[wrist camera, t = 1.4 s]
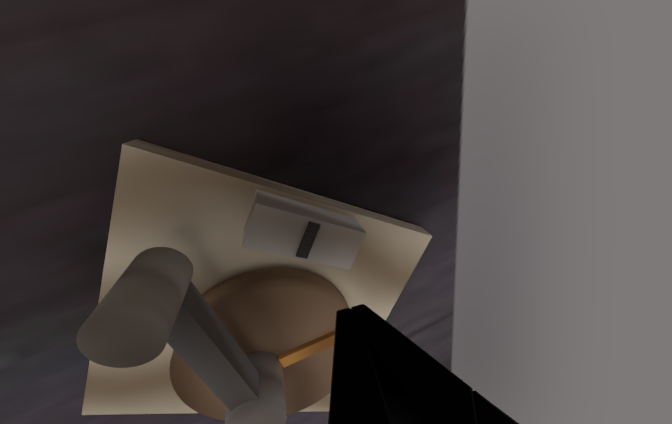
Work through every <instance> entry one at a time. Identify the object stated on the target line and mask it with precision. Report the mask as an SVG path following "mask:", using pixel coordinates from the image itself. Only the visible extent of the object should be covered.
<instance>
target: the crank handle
mask: <svg viewBox="0 0 672 424" xmlns="http://www.w3.org/2000/svg"><path fill="white" fill-rule="evenodd" d="M192 276H193V265H192V263H191V261H190V260H189V258H188V257H187V256H186V255H184V254H183V253H182V252H180V251H178V250H176V249H173V248H168V247H153V248H149V249H146V250H144V251H142V252H141V253H139V254H138V255H137V256H136V257H135V258H134V260H133V261H132V262H131V263H130V265H129V266H128V267H127V269H126V270H125V271H124V272H123V274H122V275H121V276H120V278H119V279H118V280H117V281H116V283H115V284H114V285H113V287H112V288H111V289H110V290H109V292H108V293H107V294H106V295H105V297H104V298H103V299H102V301H101V302H100V303H99V304H98V306H97V307H96V308H95V310H94V311H93V312H92V313H91V315H90V316H89V317H88V319H87V320H86V321H85V322H84V324H83V325H82V326H81V328H80V329H79V331H78V333H77V336H76V343H77V347H78V349H79V351H80V352H81V353H82V354H83V355H84V356H85V357H86V358H87V359H89V360H91V361H92V362H94V363H97V364H99V365H103V366H107V367H113V368H129V367H135V366H140V365H143V364H146V363H148V362H150V361H152V360H153V359H155V358H156V357H158V356H159V355H160V354H161V353H162V351H163V350H164V348H165V346H166V344H167V343H168V344H169V345H170V346H171V347H172V349H173V354H172V357H171V360H170V369H169V372H170V380H171V383H172V386H173V389H174V390H175V392H176V394H177V395H178V397H179V398H180V399H181V400H182V401H183V402H184V403H185V404H186V405H187V406H189V407H190V408H191V409H193V410H194V411H196V412H198V413H200V414H202V415H205V416H207V417H210V418H213V419H217V420H221V421H225V424H285V423H286V420H287V416H288V415H291V414H294V413H296V412H298V411H301V410H303V409H305V408H307V407H309V406H311V405H313V404H315V403H316V402H318V401H319V400H321V399H323V398H324V397H325V396H327V395H328V394H329V393H331V379H332V365H333V351H334V338H335V324H336V312H337V311H338V310H341V309H344V308H349V307H348V304H347V302H346V300H345V298H344V296H343V295H342V293H341V292H340V291H339V290H338V289H337V288H336V287H335V286H334V285H333V284H332V283H331V282H329V281H328V280H326V279H325V278H323V277H321V276H319V275H317V274H314V273H312V272H309V271H305V270H301V269H296V268H286V267H271V268H263V269H257V270H253V271H248V272H245V273H242V274H239V275H236V276H233V277H231V278H229V279H227V280H225V281H223V282H221V283H219V284H218V285H216V286H215V287H213V288H211V289H210V290H209V291H208V292H206V293H205V294H204V295H203V296H202V295H201V293H200V292H199V291H198V289H197V288H196V287H195V285H194V284H193V283H192V281H191V279H192Z"/></svg>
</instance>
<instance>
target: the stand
mask: <svg viewBox="0 0 672 424" xmlns="http://www.w3.org/2000/svg"><path fill="white" fill-rule="evenodd" d="M431 238H432V235H430V234H429V233H428V232H427V231H426V230H424V229H423V228H422V227H420V226H417V225H414V224H411V223H407V222H404V221H401V220H398V219H394V218H391V217H388V216H385V215H381V214H378V213H375V212H372V211H368V210H365V209H362V208H359V207H356V206H352V205H349V204H346V203H343V202H339V201H336V200H333V199H330V198H326V197H323V196H320V195H317V194H313V193H310V192H307V191H304V190H300V189H297V188H294V187H291V186H288V185H284V184H281V183H278V182H275V181H271V180H268V179H265V178H262V177H258V176H255V175H252V174H249V173H245V172H242V171H239V170H236V169H232V168H229V167H226V166H223V165H219V164H216V163H213V162H210V161H207V160H203V159H200V158H197V157H194V156H190V155H187V154H184V153H181V152H177V151H174V150H171V149H168V148H164V147H161V146H158V145H155V144H151V143H148V142H145V141H142V140H139V139H135V140H132V141H129V142H126V143H123V144H122V150H121V156H120V163H119V169H118V176H117V183H116V189H115V196H114V203H113V209H112V216H111V223H110V229H109V236H108V243H107V249H106V256H105V263H104V269H103V276H102V282H101V289H100V296H99V302H98V304H99V303H100V302H101V301H102V299H103V298H104V297H105V295H106V294H107V293H108V292H109V290H110V289H111V288H112V287H113V285H114V284H115V283H116V281H117V280H118V279H119V278H120V276H121V275H122V274H123V272H124V271H125V270H126V269H127V267H128V266H129V265H130V263H131V262H132V261H133V260H134V258H135V257H136V256H137V255H138V254H139V253H141V252H142V251H144V250H146V249H149V248H153V247H168V248H173V249H176V250H178V251H180V252H182V253H183V254H184V255H186V256H187V257H188V258H189V260H190V261H191V263H192V265H193V276H192V279H191V281H192V283H193V284H194V285H195V287H196V288H197V289H198V291H199V292H200V293H201V295H202V296H203V295H204V294H205V293H206V292H208V291H209V290H210V289H211V288H213V287H215V286H216V285H218V284H219V283H221V282H223V281H225V280H227V279H229V278H231V277H233V276H236V275H239V274H242V273H245V272H248V271H253V270H257V269H263V268H271V267H286V268H296V269H301V270H305V271H309V272H312V273H314V274H317V275H319V276H321V277H323V278H325V279H326V280H328V281H329V282H331V283H332V284H333V285H334V286H335V287H336V288H337V289H338V290H339V291H340V292H341V293H342V295H343V296H344V298H345V300H346V302H347V304H348V307H349V308H350V309H351V307H353V306H356V305H360V304H364V305H366V306H367V307H369V308H370V309H371V310H373V311H374V312H375V313H376V314H378V315H379V316H380V317H382V318H383V319H384V320H385V321H386V319H387V317H388V315H389V313H390V312H391V310H392V308H393V306H394V305H395V303H396V301H397V299H398V297H399V296H400V294H401V292H402V290H403V288H404V287H405V285H406V283H407V281H408V279H409V278H410V276H411V274H412V272H413V270H414V269H415V267H416V265H417V263H418V261H419V260H420V258H421V256H422V254H423V252H424V251H425V249H426V247H427V245H428V243H429V242H430V240H431ZM172 354H173V349H172V347H171V346H170V345H169V344H168V343H167V344H166V346H165V348H164V350H163V351H162V353H161V354H160V355H159V356H158V357H156V358H155V359H153V360H152V361H150V362H148V363H146V364H143V365H140V366H135V367H129V368H113V367H107V366H103V365H99V364H97V363H94V362H92V361H91V360H90V362H89V369H88V376H87V382H86V389H85V395H84V402H83V409H82V415H112V414H176V413H198V412H196V411H194V410H193V409H191V408H190V407H189V406H187V405H186V404H185V403H184V402H183V401H182V400H181V399H180V398H179V397H178V395H177V394H176V392H175V390H174V389H173V386H172V383H171V380H170V372H169V369H170V360H171V357H172ZM329 407H330V393H329V394H328V395H327V396H325V397H324V398H323V399H321V400H319V401H318V402H316V403H315V404H313V405H311V406H309V407H307V408H305V409H303V410H301V411H298V412H303V411H329Z"/></svg>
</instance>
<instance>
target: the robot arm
mask: <svg viewBox="0 0 672 424" xmlns="http://www.w3.org/2000/svg"><path fill="white" fill-rule="evenodd" d="M328 424H519V423H517V422H516V421H515V420H513V419H512V418H511V417H509V416H508V415H506V414H505V413H504V412H502V411H501V410H500V409H499V408H497V407H496V406H494V405H493V404H492V403H490V402H489V401H488V400H487V399H485V398H484V397H483V396H482V395H480V394H479V393H478V392H477V391H472V388H471V387H470V386H469V385H467V384H466V383H465V382H463V381H462V380H461V379H460V378H458V377H457V376H456V375H455V374H453V373H452V372H451V371H449V370H448V369H447V368H446V367H444V366H443V365H442V364H440V363H439V362H438V361H437V360H435V359H434V358H433V357H431V356H430V355H429V354H428V353H426V352H425V351H424V350H422V349H421V348H420V347H419V346H417V345H416V344H415V343H414V342H412V341H411V340H410V339H408V338H407V337H406V336H405V335H403V334H402V333H401V332H399V331H398V330H397V329H396V328H394V327H393V326H392V325H390V324H389V323H388V322H387V321H385V320H384V319H383V318H382V317H380V316H379V315H378V314H376V313H375V312H374V311H373V310H371V309H370V308H369V307H367V306H366V305H364V304H360V305H356V306H353V307H351V309H350V308H344V309H341V310H338V311H337V312H336V324H335V338H334V351H333V365H332V379H331V393H330V407H329V420H328Z"/></svg>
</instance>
